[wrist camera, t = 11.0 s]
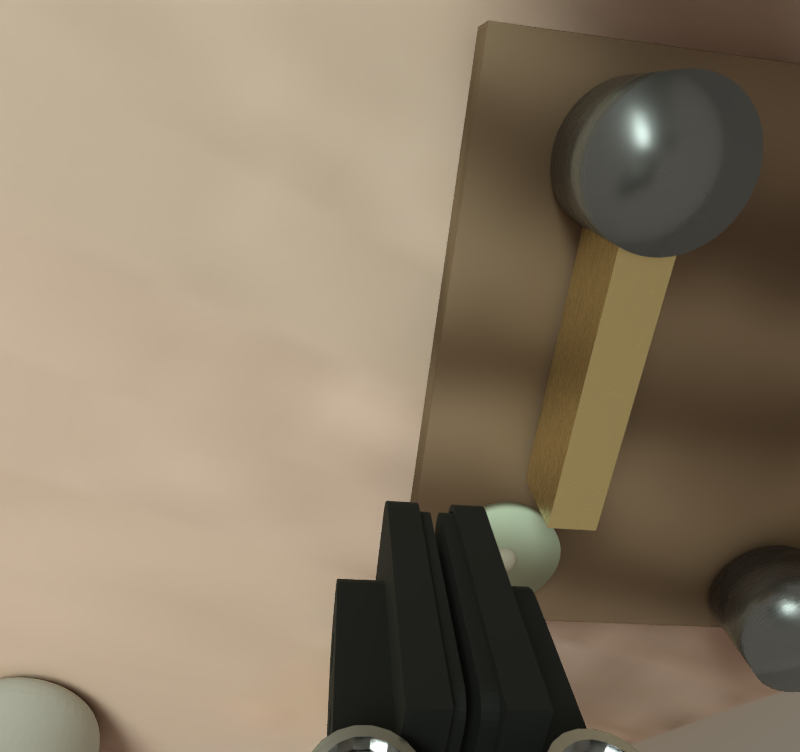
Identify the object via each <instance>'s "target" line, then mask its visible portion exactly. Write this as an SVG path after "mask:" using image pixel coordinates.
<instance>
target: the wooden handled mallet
mask: <svg viewBox="0 0 800 752" xmlns="http://www.w3.org/2000/svg"><path fill="white" fill-rule="evenodd" d="M709 604H710V608H711V611H712V613H713V614H714V616H715V617H716V619H717V620H718V622H719V623H720V624H721V626H722V627H723V629H724V630H725V632H726V633H727V634H728V636H729V637H730V639H731V640H732V642H733V643H734V645H735V646H736V647H737V649H738V650H739V652H740V653H741V655H742V656H743V657H744V659H745V660H746V662H747V663H748V665H749V666H750V667H751V669H752V670H753V672H754V673H755V675H756V676H757V677H758V679H759V680H760V681H761V682H762V683H763V684H765V685H766V686H768V687H770V688H772V689H776V690H779V691H785V692H800V549H798V548H795V547H791V546H785V545H773V546H766V547H762V548H758V549H755V550H752V551H750V552H747V553H745V554H743V555H742V556H740V557H738V558H737V559H735V560H734V561H732V562H731V563H730V564H729V565H727V566H726V567H725V568H724V569H723V570H722V571H721V573H720V574H719V575H718V577H717V578H716V580H715V581H714V583H713V586H712V588H711V591H710V597H709Z"/></svg>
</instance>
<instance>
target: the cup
mask: <svg viewBox="0 0 800 752" xmlns="http://www.w3.org/2000/svg"><path fill="white" fill-rule="evenodd" d="M99 747H100V732H99V727H98V723H97V720H96V718H95V716H94V714H93V712H92V711H91V709H90V708H89V706H88V705H87V704H86V703H85V702H84V701H83V700H82V699H81V698H80V697H78V696H77V695H76V694H74V693H73V692H71V691H69V690H68V689H66V688H64V687H62V686H59V685H57V684H54V683H51V682H48V681H45V680H40V679H34V678H25V677H12V678H3V679H0V752H99Z"/></svg>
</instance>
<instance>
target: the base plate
mask: <svg viewBox="0 0 800 752" xmlns="http://www.w3.org/2000/svg"><path fill="white" fill-rule="evenodd" d="M685 68H698V69H705V70H710V71H714V72H717V73H719V74H722V75H724V76H726V77H727V78H729V79H731V80H732V81H734V82H735V83H736V84H737V85H738V86H740V87H741V88H742V89H743V90H744V91H745V93H746V94H747V95H748V96H749V97H750V99H751V101H752V103H753V104H754V106H755V108H756V110H757V113H758V115H759V118H760V122H761V126H762V131H763V140H764V146H763V159H762V166H761V170H760V174H759V177H758V180H757V183H756V185H755V188H754V190H753V192H752V194H751V196H750V198H749V200H748V202H747V203H746V205H745V206H744V208H743V209H742V211H741V212H740V214H739V215H738V216H737V217H736V219H735V220H734V221H733V222H732V223H731V224H730V225H729V226H728V227H727V228H726V229H725V230H724V231H723V232H722V233H720V234H719V235H718V236H717V237H715V238H714V239H713V240H711V241H709V242H708V243H706V244H705V245H703V246H701V247H699V248H697V249H695V250H693V251H690V252H687V253H684V254H681V255H676V259H675V262H674V265H673V269H672V272H671V276H670V279H669V283H668V286H667V289H666V293H665V296H664V300H663V303H662V307H661V310H660V313H659V317H658V320H657V324H656V327H655V330H654V334H653V337H652V341H651V344H650V348H649V351H648V354H647V358H646V361H645V365H644V368H643V372H642V375H641V378H640V382H639V385H638V389H637V392H636V396H635V399H634V402H633V406H632V409H631V413H630V416H629V419H628V423H627V426H626V430H625V433H624V437H623V440H622V443H621V447H620V450H619V454H618V457H617V461H616V464H615V467H614V471H613V474H612V478H611V481H610V484H609V488H608V491H607V495H606V498H605V502H604V505H603V508H602V512H601V515H600V519H599V522H598V526H597V529H596V531H594V530H576V529H557V528H547V526H546V523H545V521H544V519H543V517H542V514H541V512H540V510H539V508H538V506H537V503H536V501H535V499H534V497H533V494H532V492H531V490H530V488H529V486H528V483H527V481H526V475H527V470H528V466H529V461H530V457H531V453H532V448H533V444H534V439H535V435H536V431H537V426H538V422H539V417H540V413H541V409H542V404H543V400H544V395H545V391H546V387H547V382H548V378H549V373H550V369H551V365H552V360H553V356H554V351H555V347H556V343H557V338H558V334H559V329H560V325H561V321H562V316H563V312H564V307H565V303H566V299H567V294H568V290H569V285H570V281H571V277H572V272H573V268H574V263H575V259H576V255H577V250H578V246H579V241H580V237H581V233H582V228H583V227H582V226H580V225H579V224H577V223H576V222H575V221H573V220H572V219H571V218H570V217H569V216H568V215H567V213H566V212H565V211H564V210H563V208H562V207H561V205H560V203H559V201H558V200H557V197H556V195H555V192H554V189H553V185H552V181H551V172H550V166H551V154H552V148H553V144H554V140H555V137H556V135H557V132H558V130H559V127H560V126H561V124H562V122H563V120H564V118H565V117H566V115H567V114H568V112H569V111H570V109H571V108H572V107H573V106H574V105H575V104H576V102H577V101H578V100H579V99H580V98H581V97H583V96H584V95H585V94H586V93H587V92H588V91H590V90H591V89H593V88H594V87H595V86H597V85H599V84H601V83H603V82H605V81H607V80H609V79H612V78H615V77H618V76H623V75H628V74H637V73H647V72H656V71H665V70H674V69H685ZM411 502H414V503H418V504H419V508H420V511H422V512H430V513H431V518H432V523H433V528H434V533H435V527H436V520H437V516H438V513H439V512H440V513H448V511H449V508H450V506H451V505H469V506H483V507H484V508H485V510H486V513H487V516H488V519H489V522H490V525H491V528H492V531H493V534H494V537H495V540H496V542H497V545H498V548H499V551H500V554H501V557H502V560H503V563H504V566H505V569H506V572H507V575H508V578H509V581H510V584H511V586H523V587H529V588H531V589H532V590H533V592H534V594H535V596H536V598H537V601H538V604H539V606H540V609H541V611H542V614H543V617H544V619H545V620H550V621H576V622H603V623H630V624H656V625H683V626H710V627H722V626H721V624H720V623H719V622H718V620H717V619H716V617H715V616H714V614H713V613H712V611H711V608H710V604H709V597H710V591H711V588H712V586H713V583H714V581H715V580H716V578H717V577H718V575H719V574H720V573H721V571H722V570H723V569H724V568H725V567H726V566H727V565H729V564H730V563H731V562H732V561H734V560H735V559H737V558H738V557H740V556H742V555H743V554H745V553H747V552H750V551H752V550H755V549H758V548H762V547H766V546H773V545H785V546H791V547H795V548H798V549H800V64H795V63H788V62H781V61H773V60H766V59H759V58H752V57H745V56H738V55H730V54H723V53H716V52H709V51H702V50H695V49H687V48H680V47H673V46H666V45H659V44H652V43H644V42H637V41H630V40H623V39H616V38H609V37H602V36H594V35H587V34H580V33H573V32H566V31H559V30H551V29H544V28H537V27H530V26H523V25H516V24H508V23H501V22H494V21H487V22H485V23H484V24H482V25H481V26H479V27H478V32H477V39H476V46H475V53H474V60H473V67H472V74H471V81H470V88H469V95H468V102H467V109H466V116H465V123H464V130H463V137H462V144H461V151H460V158H459V165H458V172H457V179H456V186H455V193H454V200H453V207H452V214H451V221H450V228H449V235H448V242H447V249H446V256H445V263H444V270H443V278H442V285H441V292H440V299H439V306H438V313H437V320H436V327H435V334H434V341H433V348H432V355H431V362H430V369H429V376H428V383H427V390H426V397H425V404H424V411H423V418H422V425H421V432H420V439H419V446H418V453H417V460H416V467H415V474H414V481H413V488H412V495H411Z"/></svg>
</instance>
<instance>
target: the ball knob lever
mask: <svg viewBox="0 0 800 752" xmlns="http://www.w3.org/2000/svg"><path fill="white" fill-rule="evenodd" d="M763 146H764V140H763V131H762V126H761V122H760V118H759V115H758V113H757V110H756V108H755V106H754V104H753V103H752V101H751V99H750V97H749V96H748V95H747V94H746V93H745V91H744V90H743V89H742V88H741V87H740V86H738V85H737V84H736V83H735V82H734V81H732V80H731V79H729V78H727V77H726V76H724V75H722V74H719V73H717V72H714V71H710V70H705V69H698V68H685V69H674V70H665V71H656V72H647V73H637V74H628V75H623V76H618V77H615V78H612V79H609V80H607V81H605V82H603V83H601V84H599V85H597V86H595V87H594V88H593V89H591V90H590V91H588V92H587V93H586V94H585V95H584V96H583V97H581V98H580V99H579V100H578V101H577V102H576V104H575V105H574V106H573V107H572V108H571V109H570V111H569V112H568V114H567V115H566V117H565V118H564V120H563V122H562V124H561V126H560V127H559V130H558V132H557V135H556V137H555V140H554V144H553V148H552V154H551V166H550V172H551V181H552V185H553V189H554V192H555V195H556V197H557V200H558V201H559V203H560V205H561V207H562V208H563V210H564V211H565V212H566V213H567V215H568V216H569V217H570V218H571V219H572V220H573V221H575V222H576V223H577V224H579V225H580V226H582V227H583V228H582V233H581V237H580V241H579V246H578V250H577V255H576V259H575V263H574V268H573V272H572V277H571V281H570V285H569V290H568V294H567V299H566V303H565V307H564V312H563V316H562V321H561V325H560V329H559V334H558V338H557V343H556V347H555V351H554V356H553V360H552V365H551V369H550V373H549V378H548V382H547V387H546V391H545V395H544V400H543V404H542V409H541V413H540V417H539V422H538V426H537V431H536V435H535V439H534V444H533V448H532V453H531V457H530V461H529V466H528V470H527V475H526V481H527V483H528V486H529V488H530V490H531V492H532V494H533V497H534V499H535V501H536V503H537V506H538V508H539V510H540V512H541V514H542V517H543V519H544V521H545V523H546V526H547V528H557V529H576V530H594V531H596V529H597V526H598V522H599V519H600V515H601V512H602V508H603V505H604V502H605V498H606V495H607V491H608V488H609V484H610V481H611V478H612V474H613V471H614V467H615V464H616V461H617V457H618V454H619V450H620V447H621V443H622V440H623V437H624V433H625V430H626V426H627V423H628V419H629V416H630V413H631V409H632V406H633V402H634V399H635V396H636V392H637V389H638V385H639V382H640V378H641V375H642V372H643V368H644V365H645V361H646V358H647V354H648V351H649V348H650V344H651V341H652V337H653V334H654V330H655V327H656V324H657V320H658V317H659V313H660V310H661V307H662V303H663V300H664V296H665V293H666V289H667V286H668V283H669V279H670V276H671V272H672V269H673V265H674V262H675V259H676V255H681V254H684V253H687V252H690V251H693V250H695V249H697V248H699V247H701V246H703V245H705V244H706V243H708V242H709V241H711V240H713V239H714V238H715V237H717V236H718V235H719V234H720V233H722V232H723V231H724V230H725V229H726V228H727V227H728V226H729V225H730V224H731V223H732V222H733V221H734V220H735V219H736V217H737V216H738V215H739V214H740V212H741V211H742V209H743V208H744V206H745V205H746V203H747V202H748V200H749V198H750V196H751V194H752V192H753V190H754V188H755V185H756V183H757V180H758V177H759V174H760V170H761V166H762V159H763Z"/></svg>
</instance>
